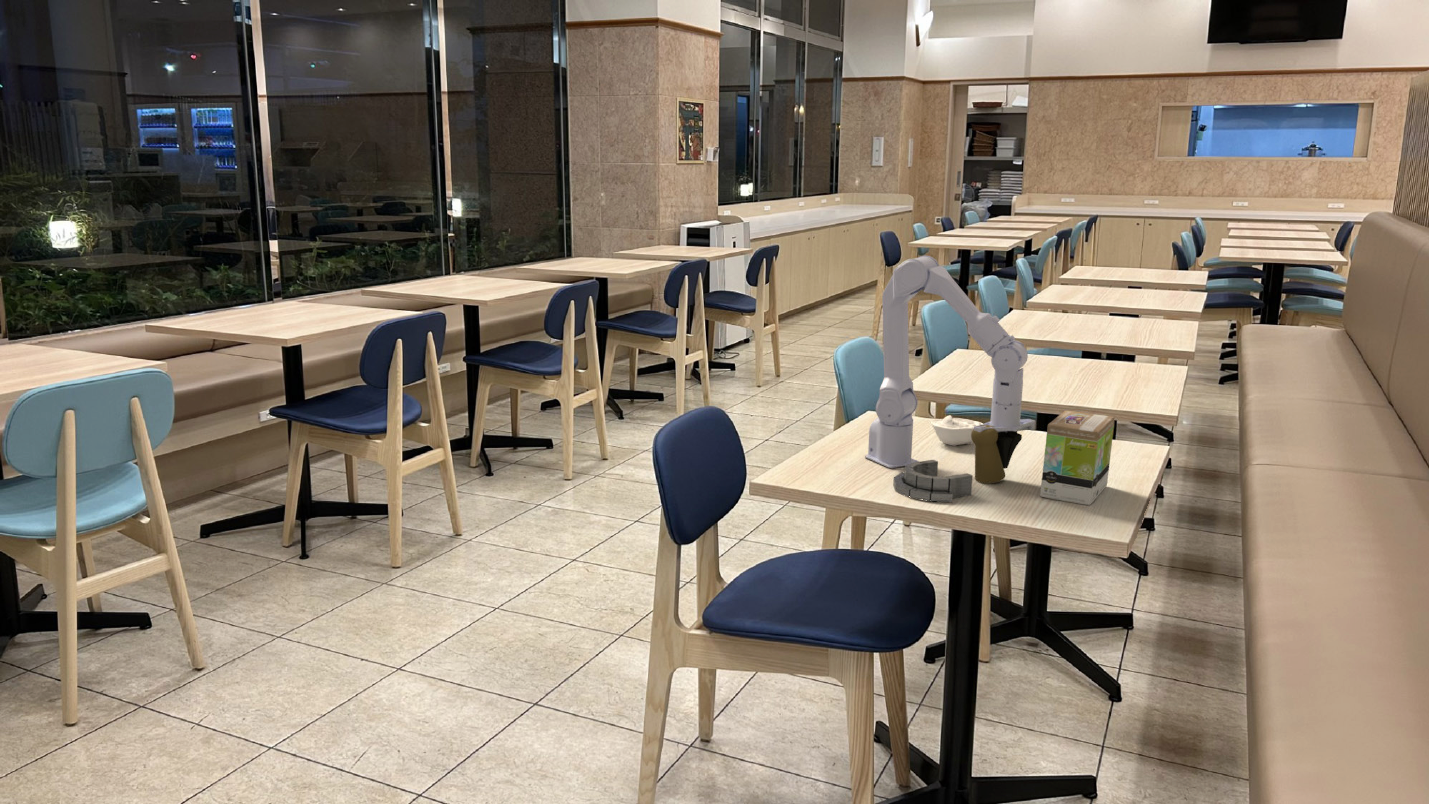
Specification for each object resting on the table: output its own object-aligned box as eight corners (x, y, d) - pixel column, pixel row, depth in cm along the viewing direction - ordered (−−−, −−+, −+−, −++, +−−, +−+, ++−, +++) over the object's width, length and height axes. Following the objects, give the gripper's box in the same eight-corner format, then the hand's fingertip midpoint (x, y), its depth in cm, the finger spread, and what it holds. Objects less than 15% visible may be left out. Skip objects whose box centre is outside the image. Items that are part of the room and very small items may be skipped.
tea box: (1092, 507, 197) (1099, 431, 194) (1038, 498, 202) (1044, 423, 199) (1108, 486, 210) (1115, 414, 206) (1057, 478, 215) (1063, 408, 212)
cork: (1006, 481, 209) (999, 431, 205) (975, 485, 211) (968, 435, 207) (1004, 468, 215) (998, 419, 211) (974, 471, 216) (967, 423, 212)
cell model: (989, 450, 235) (991, 421, 234) (936, 450, 235) (937, 420, 233) (976, 438, 245) (978, 410, 244) (925, 438, 245) (927, 410, 243)
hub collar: (878, 483, 210) (879, 464, 209) (926, 475, 215) (927, 457, 214) (927, 506, 196) (929, 486, 195) (977, 498, 202) (979, 478, 201)
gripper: (992, 410, 204) (987, 476, 207) (1048, 402, 210) (1042, 467, 213) (968, 402, 210) (963, 467, 213) (1023, 395, 216) (1018, 459, 219)
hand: (1001, 467), depth 214 cm, fingers closed
